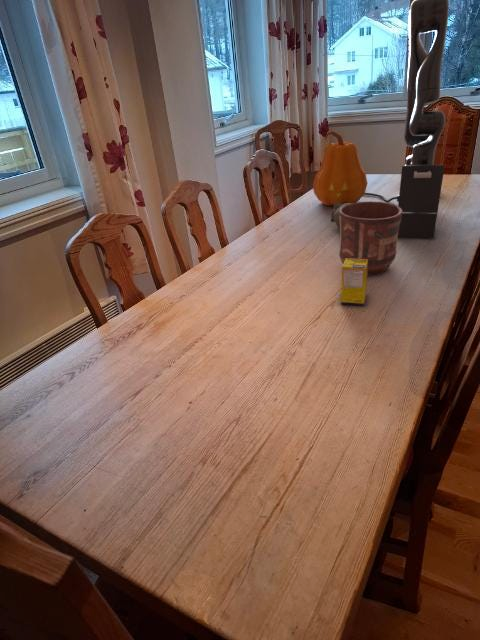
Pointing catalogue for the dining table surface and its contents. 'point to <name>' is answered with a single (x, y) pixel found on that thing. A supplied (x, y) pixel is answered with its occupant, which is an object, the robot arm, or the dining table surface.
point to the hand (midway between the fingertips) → (414, 223)
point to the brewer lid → (420, 188)
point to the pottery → (370, 233)
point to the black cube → (417, 225)
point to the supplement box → (354, 281)
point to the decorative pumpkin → (340, 174)
